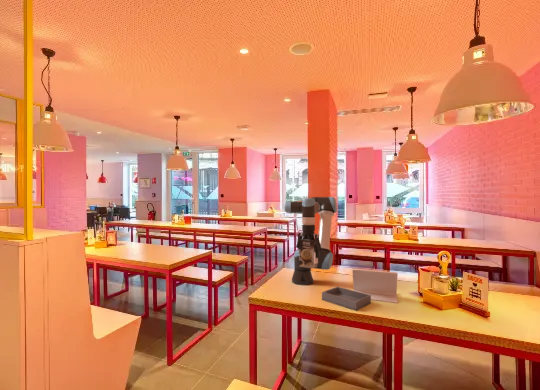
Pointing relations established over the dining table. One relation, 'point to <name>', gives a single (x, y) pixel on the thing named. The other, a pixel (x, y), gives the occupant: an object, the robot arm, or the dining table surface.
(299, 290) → the dining table surface
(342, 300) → the tray
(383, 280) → the tablet stand
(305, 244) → the coffee box
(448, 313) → the dining table surface
